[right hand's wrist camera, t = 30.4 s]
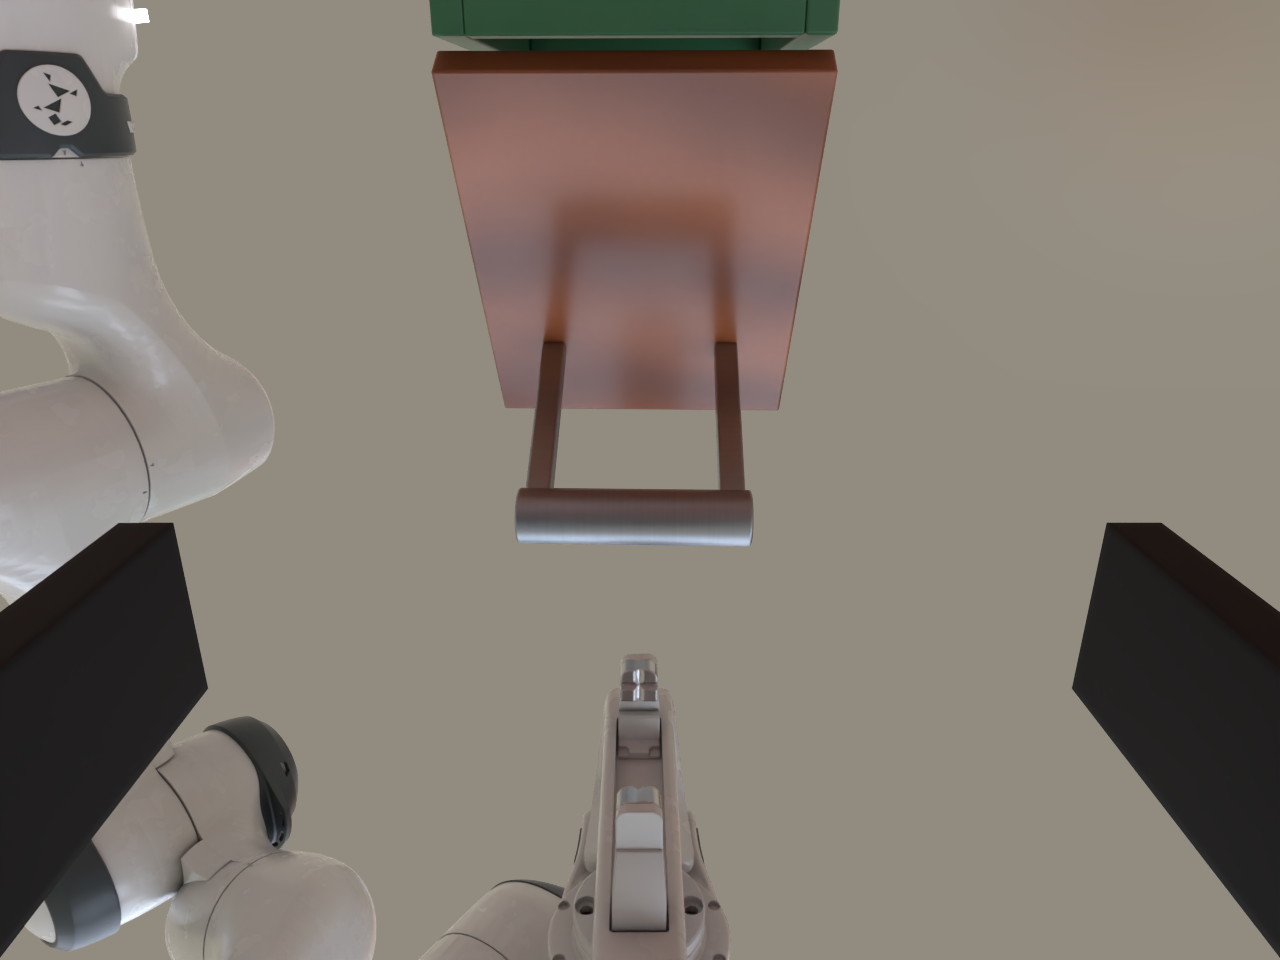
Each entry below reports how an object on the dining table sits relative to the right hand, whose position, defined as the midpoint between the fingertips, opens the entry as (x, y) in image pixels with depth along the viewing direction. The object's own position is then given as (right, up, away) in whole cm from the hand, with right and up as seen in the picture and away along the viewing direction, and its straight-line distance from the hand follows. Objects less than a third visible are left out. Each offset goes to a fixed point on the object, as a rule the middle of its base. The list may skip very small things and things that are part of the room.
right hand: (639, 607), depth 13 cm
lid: (0, +8, +13) cm, 16 cm away
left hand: (0, -9, +26) cm, 27 cm away
